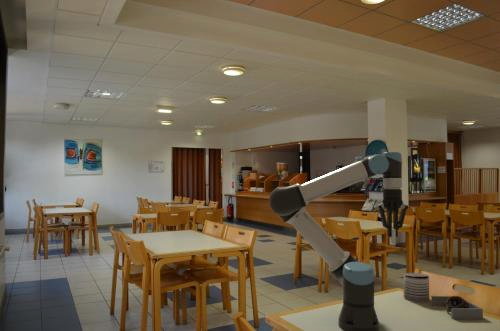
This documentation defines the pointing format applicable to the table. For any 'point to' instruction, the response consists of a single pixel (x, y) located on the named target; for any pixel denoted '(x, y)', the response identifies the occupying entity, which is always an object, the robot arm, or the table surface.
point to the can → (416, 287)
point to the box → (459, 309)
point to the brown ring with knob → (456, 303)
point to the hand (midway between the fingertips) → (392, 244)
